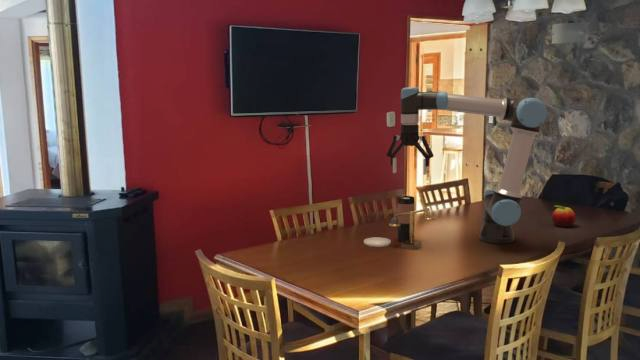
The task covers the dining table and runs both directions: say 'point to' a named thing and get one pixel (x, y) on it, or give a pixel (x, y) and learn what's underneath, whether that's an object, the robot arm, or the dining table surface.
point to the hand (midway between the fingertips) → (409, 173)
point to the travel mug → (405, 217)
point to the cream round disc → (377, 242)
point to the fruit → (563, 216)
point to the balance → (411, 243)
